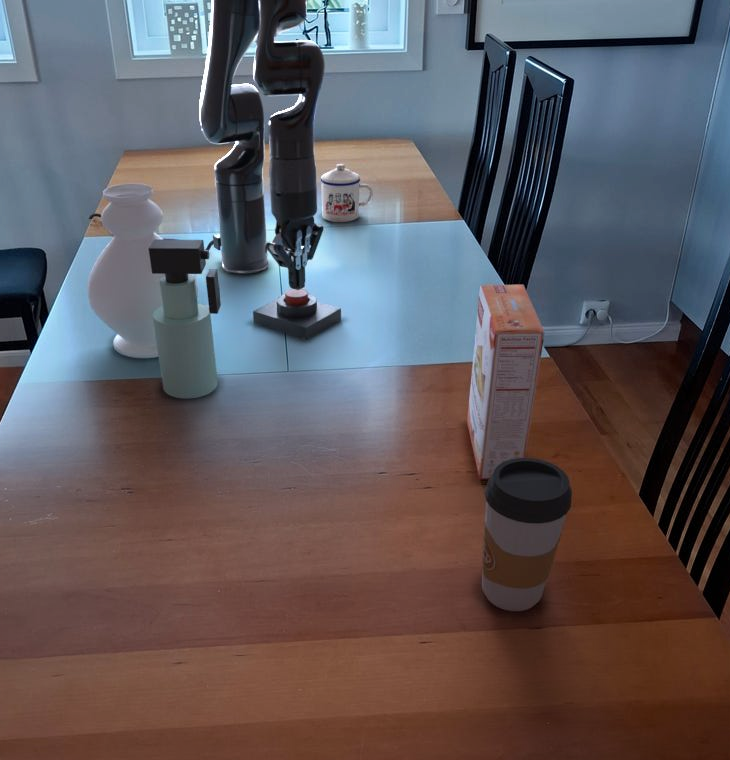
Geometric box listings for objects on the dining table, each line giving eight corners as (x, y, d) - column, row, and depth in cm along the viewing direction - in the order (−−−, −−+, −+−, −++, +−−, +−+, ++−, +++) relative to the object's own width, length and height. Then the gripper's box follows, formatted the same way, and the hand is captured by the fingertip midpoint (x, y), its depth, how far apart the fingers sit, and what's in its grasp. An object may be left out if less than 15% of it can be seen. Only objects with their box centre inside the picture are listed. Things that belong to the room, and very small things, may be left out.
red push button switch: (253, 322, 144) (252, 301, 141) (289, 304, 150) (288, 283, 147) (306, 339, 138) (305, 317, 135) (341, 319, 144) (341, 298, 142)
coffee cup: (464, 569, 90) (478, 457, 81) (537, 564, 91) (559, 452, 82) (482, 622, 84) (499, 507, 74) (561, 616, 84) (588, 501, 75)
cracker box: (463, 424, 115) (478, 282, 102) (506, 424, 115) (526, 282, 102) (475, 481, 104) (494, 329, 91) (523, 481, 103) (548, 329, 91)
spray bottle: (157, 398, 122) (135, 254, 109) (169, 372, 129) (149, 233, 116) (217, 399, 122) (202, 254, 108) (226, 373, 128) (212, 234, 115)
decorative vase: (163, 311, 148) (143, 168, 133) (224, 340, 138) (210, 189, 123) (77, 342, 138) (45, 191, 123) (137, 376, 128) (110, 216, 113)
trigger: (209, 313, 116) (205, 276, 113) (212, 305, 119) (209, 268, 115) (217, 313, 116) (214, 276, 113) (221, 305, 119) (217, 269, 115)
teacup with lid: (321, 223, 187) (320, 170, 180) (321, 211, 194) (320, 159, 187) (373, 222, 187) (374, 169, 180) (371, 210, 194) (372, 158, 187)
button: (280, 303, 141) (280, 293, 140) (295, 295, 144) (294, 286, 143) (298, 308, 139) (298, 298, 138) (312, 301, 142) (312, 291, 141)
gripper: (300, 171, 136) (304, 272, 146) (248, 190, 127) (255, 295, 138) (336, 178, 132) (337, 281, 142) (285, 197, 124) (289, 305, 134)
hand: (297, 288), depth 140 cm, fingers closed
